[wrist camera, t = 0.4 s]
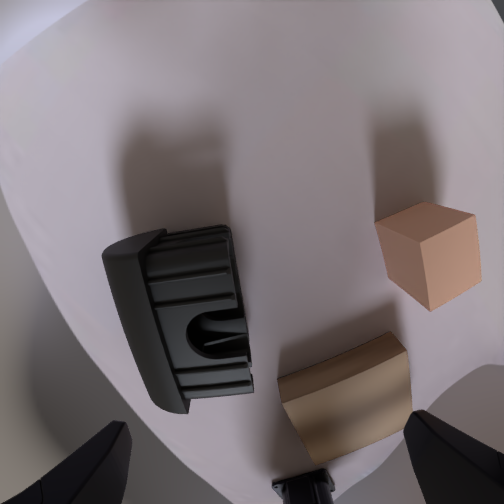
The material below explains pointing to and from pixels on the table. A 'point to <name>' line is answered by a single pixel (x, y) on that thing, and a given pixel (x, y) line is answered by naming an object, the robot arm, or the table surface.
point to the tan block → (350, 398)
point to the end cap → (182, 313)
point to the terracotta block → (431, 252)
